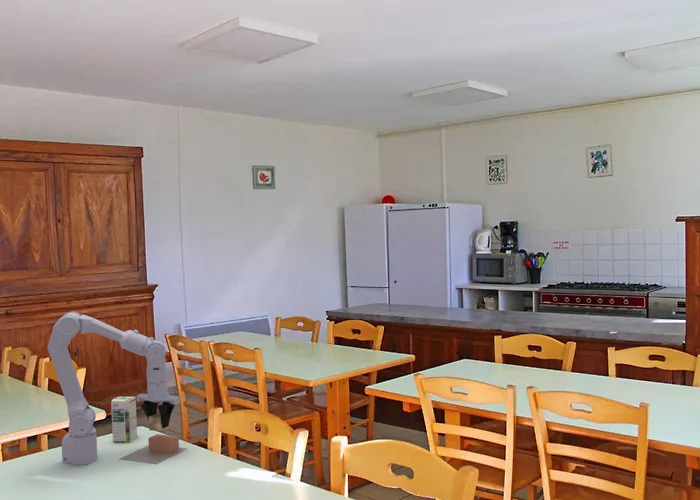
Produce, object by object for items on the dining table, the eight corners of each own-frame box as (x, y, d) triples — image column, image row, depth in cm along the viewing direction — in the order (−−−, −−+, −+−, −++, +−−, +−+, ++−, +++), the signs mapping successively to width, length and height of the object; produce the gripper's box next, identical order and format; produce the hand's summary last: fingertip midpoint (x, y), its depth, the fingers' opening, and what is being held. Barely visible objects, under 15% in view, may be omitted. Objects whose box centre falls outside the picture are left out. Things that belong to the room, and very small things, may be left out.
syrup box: (112, 446, 208) (110, 400, 207) (121, 440, 214) (119, 395, 213) (129, 446, 207) (127, 400, 206) (138, 440, 213) (136, 395, 212)
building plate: (118, 462, 192) (118, 459, 192) (150, 447, 205) (150, 444, 205) (156, 467, 186) (156, 464, 186) (187, 451, 199) (187, 448, 199)
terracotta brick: (148, 451, 198) (148, 437, 198) (157, 447, 202) (157, 434, 202) (170, 453, 195) (169, 440, 195) (179, 449, 199) (178, 436, 199)
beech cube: (149, 430, 196) (148, 416, 196) (158, 426, 200) (157, 413, 200) (160, 431, 195) (159, 417, 194) (168, 427, 198) (168, 414, 198)
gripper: (185, 379, 198) (187, 424, 198) (147, 377, 204) (149, 420, 204) (169, 385, 191) (172, 431, 192) (130, 382, 197) (133, 427, 197)
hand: (159, 426), depth 197 cm, fingers closed on beech cube, 4 cm apart
